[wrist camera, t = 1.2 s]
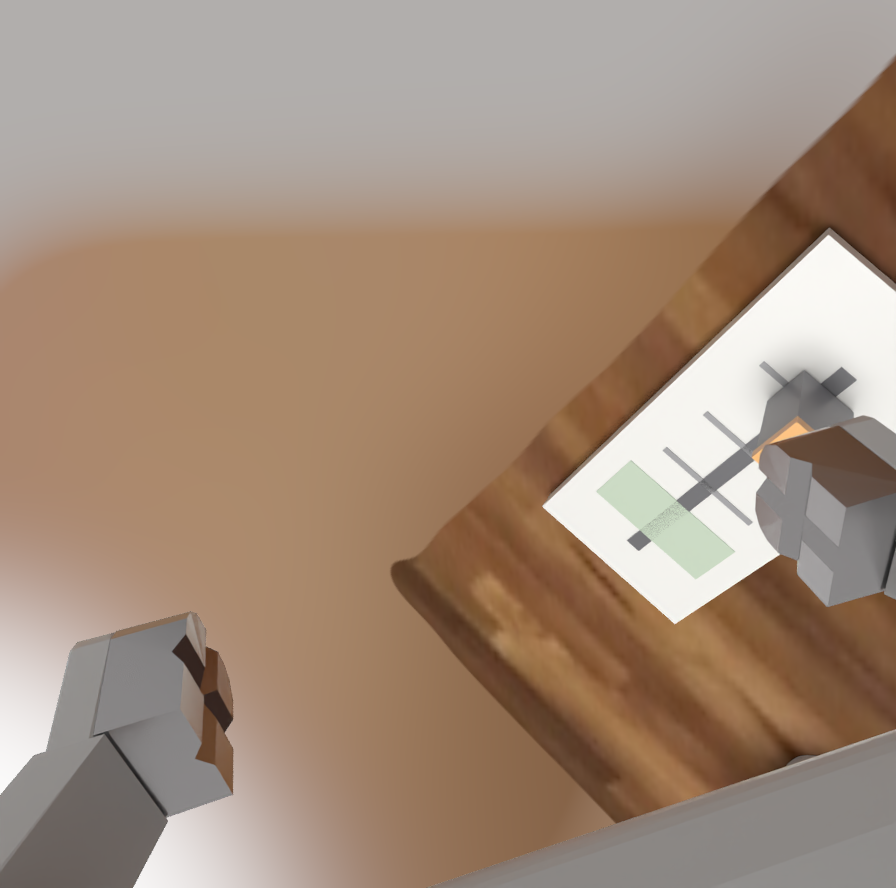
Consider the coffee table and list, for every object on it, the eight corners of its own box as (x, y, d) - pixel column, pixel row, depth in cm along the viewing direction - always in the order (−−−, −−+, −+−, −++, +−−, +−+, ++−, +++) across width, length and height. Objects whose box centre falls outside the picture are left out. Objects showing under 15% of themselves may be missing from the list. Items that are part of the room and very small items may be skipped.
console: (829, 227, 44) (828, 235, 43) (1012, 382, 44) (1018, 396, 42) (550, 494, 62) (541, 507, 60) (679, 608, 61) (674, 624, 59)
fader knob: (804, 367, 46) (796, 421, 40) (856, 412, 46) (857, 474, 40) (764, 400, 48) (751, 457, 42) (814, 444, 48) (808, 507, 42)
